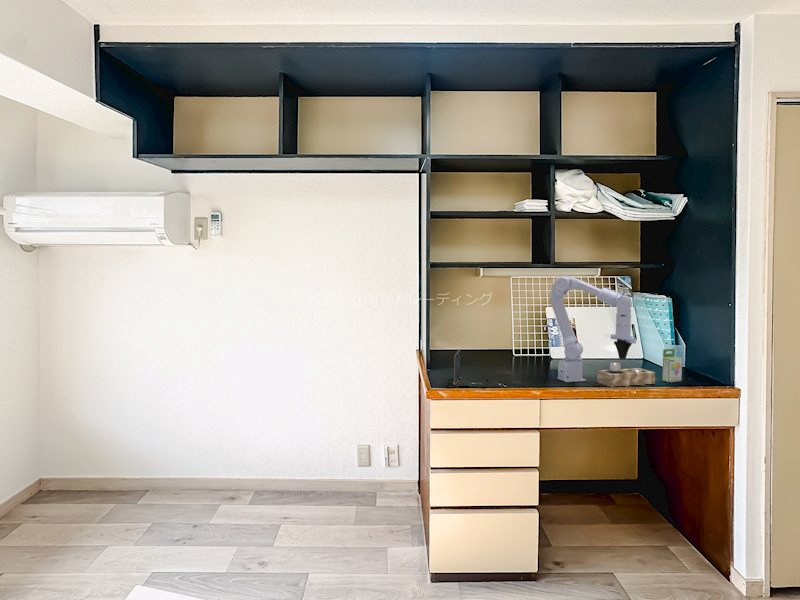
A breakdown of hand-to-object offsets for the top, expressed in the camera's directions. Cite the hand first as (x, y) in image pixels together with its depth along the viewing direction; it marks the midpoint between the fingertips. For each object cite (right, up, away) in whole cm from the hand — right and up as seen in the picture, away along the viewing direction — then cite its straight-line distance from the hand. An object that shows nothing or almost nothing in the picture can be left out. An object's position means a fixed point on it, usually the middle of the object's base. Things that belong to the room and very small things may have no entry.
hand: (622, 358), depth 252 cm
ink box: (+22, -10, +5) cm, 25 cm away
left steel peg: (-3, -7, 0) cm, 8 cm away
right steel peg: (+7, -10, +2) cm, 12 cm away
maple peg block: (+2, -10, +1) cm, 10 cm away
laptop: (-61, -11, +3) cm, 62 cm away
